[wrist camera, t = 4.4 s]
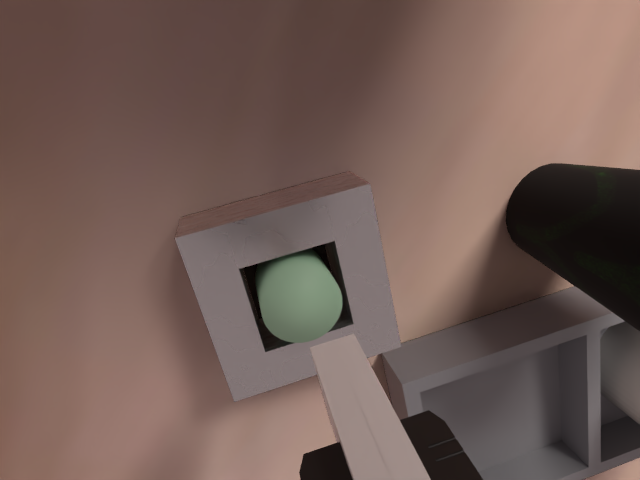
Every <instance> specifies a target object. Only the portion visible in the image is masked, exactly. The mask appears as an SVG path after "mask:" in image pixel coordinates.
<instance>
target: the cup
mask: <svg viewBox="0 0 640 480" xmlns="http://www.w3.org/2000/svg"><path fill="white" fill-rule="evenodd" d="M506 224H507V229H508V233H509V235H510V237H511V239H512V240H513V241H514V242H515V244H516V245H517V246H518V247H520V248H521V249H523V250H524V251H525V252H527V253H528V254H530V255H531V256H533V257H534V258H535V259H537V260H538V261H540V262H541V263H543V264H544V265H545V266H547V267H548V268H550V269H551V270H553V271H554V272H555V273H557V274H558V275H560V276H561V277H563V278H564V279H565V280H567V281H568V282H570V283H571V284H573V285H574V286H575V287H577V288H578V289H580V290H581V291H583V292H584V293H585V294H587V295H588V296H590V297H591V298H593V299H594V300H595V301H597V302H598V303H600V304H601V305H603V306H604V307H605V308H607V309H608V310H610V311H611V312H613V313H614V314H615V315H617V316H618V317H620V318H621V319H623V320H624V321H625V322H627V323H628V324H630V325H631V326H633V327H634V328H636V329H637V330H638V331H640V170H634V169H621V168H609V167H597V166H585V165H573V164H548V165H544V166H541V167H539V168H537V169H535V170H533V171H532V172H530V173H529V174H528V175H527V176H526V177H524V178H523V179H522V180H521V182H520V183H519V184H518V185H517V187H516V188H515V190H514V192H513V194H512V196H511V198H510V200H509V203H508V207H507V211H506Z"/></svg>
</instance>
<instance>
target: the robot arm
mask: <svg viewBox="0 0 640 480" xmlns="http://www.w3.org/2000/svg"><path fill="white" fill-rule="evenodd" d="M310 351H311V354H312V358H313V362H314V365H315V369H316V373H317V376H318V380H319V384H320V387H321V391H322V394H323V398H324V402H325V405H326V409H327V413H328V416H329V419H330V422H331V425H332V428H333V431H334V434H335V437H336V440H337V443H335V444H332V445H329V446H326V447H323V448H320V449H317V450H314V451H312V452H309V453H306V454H304V455H303V460H302V464H301V468H300V472H299V473H300V478H301V480H483V478H482V477H481V475H480V474H479V472H478V471H477V469H476V468H475V466H474V465H473V463H472V462H471V460H470V459H469V457H468V456H467V454H466V453H465V452H464V450H463V448H462V446H461V445H460V443H459V442H458V440H456V438H455V436H454V434H453V433H452V431H451V430H450V428H449V427H448V425H447V424H446V422H445V421H444V420H443V419H441V418H440V417H438V416H437V415H435V414H434V413H432V412H431V411H429V410H428V411H425V412H422V413H419V414H416V415H413V416H410V417H407V418H404V419H401V420H399V418H398V416H397V414H396V412H395V411H394V409H393V407H392V405H391V403H390V401H389V399H388V397H387V395H386V393H385V392H384V390H383V388H382V386H381V384H380V382H379V380H378V378H377V376H376V375H375V373H374V371H373V369H372V367H371V365H370V363H369V361H368V359H367V357H366V356H365V354H364V352H363V350H362V348H361V346H360V344H359V342H358V340H357V338H356V337H355V335H354V334H351V335H348V336H344V337H341V338H338V339H335V340H332V341H329V342H325V343H322V344H319V345H316V346H313V347H310Z"/></svg>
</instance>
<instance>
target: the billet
mask: <svg viewBox="0 0 640 480" xmlns="http://www.w3.org/2000/svg"><path fill="white" fill-rule="evenodd" d="M600 389H601V394H602V395H603V396H604V397H605V398H607V399H608V400H609V401H610V402H612V403H613V404H614V405H615V406H617V407H618V408H619V409H621V410H622V411H623V412H624V413H626V414H627V415H628V416H629V417H631V418H632V419H633V420H634V421H636V422H637V423H638V424H639V425H640V331H638V330H637V329H636V328H634V327H633V326H631V325H630V324H628V323H627V322H622V323H619V324H616V325H613V326H610V327H609V328H608V329H607V330H606V331H605V333H604V334H603V335H602V337H601V338H600Z"/></svg>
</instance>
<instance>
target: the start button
mask: <svg viewBox="0 0 640 480" xmlns="http://www.w3.org/2000/svg"><path fill="white" fill-rule="evenodd" d="M255 284H256V289H257V294H258V299H259V304H260V309H261V314H262V318H263V321H264V323H265V325H266V327H267V328H268V330H269V331H270V332H271V333H272V334H273V335H275V336H276V337H278V338H280V339H282V340H284V341H287V342H293V343H303V342H309V341H312V340H315V339H317V338H319V337H321V336H323V335H324V334H326V333H327V332H328V331H329V330H330V329H331V328H332V327H333V326H334V325H335V323H336V322H337V320H338V318H339V316H340V314H341V310H342V294H341V291H340V288H339V286H338V284H337V283H336V281H335V280H334V278H333V276H332V275H331V273H330V272H329V270H328V268H327V267H326V265H325V264H324V262H323V260H322V259H321V257H320V256H319V255H318V254H317V252H315V251H314V250H313V249H311V248H309V249H305V250H302V251H298V252H295V253H292V254H288V255H285V256H281V257H278V258H274V259H271V260H268V261H264V262H261V263H259V264H258V266H257V269H256V273H255Z"/></svg>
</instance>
